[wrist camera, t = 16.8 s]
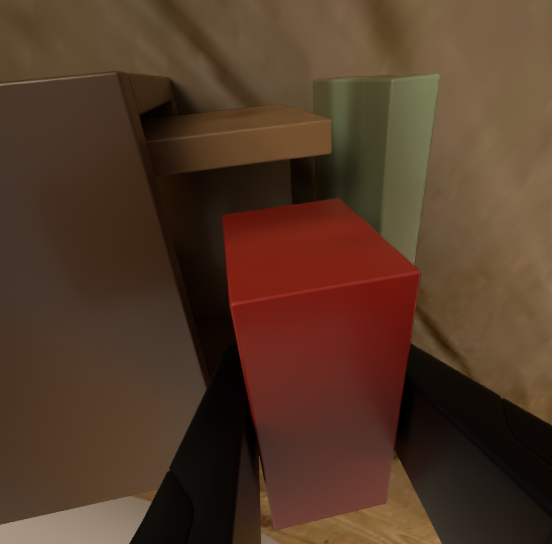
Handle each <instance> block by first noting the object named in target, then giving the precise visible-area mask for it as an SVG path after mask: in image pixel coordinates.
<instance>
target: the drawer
mask: <svg viewBox="0 0 552 544" xmlns="http://www.w3.org/2000/svg"><path fill="white" fill-rule="evenodd" d="M439 82H440V75H439V74H411V75H383V76H356V77H336V78H327V79H317V80H313V110H314V114H312V113H309V112H306V111H302V110H299V109H296V108H293V107H290V106H286V105H283V104H277V105H268V106H259V107H250V108H241V109H232V110H223V111H214V112H205V113H196V114H187V115H179V116H170V117H161V118H152V119H143V120H140V121H141V125H142V129H143V133H144V136H145V140H146V144H147V147H148V151H149V155H150V159H151V162H152V166H153V170H154V173H155V177H156V181H157V185H158V188H159V192H160V196H161V199H162V203H163V207H164V211H165V214H166V218H167V222H168V225H169V229H170V233H171V236H172V240H173V244H174V248H175V251H176V255H177V259H178V262H179V266H180V270H181V274H182V277H183V281H184V285H185V288H186V292H187V296H188V300H189V303H190V307H191V311H192V314H193V318H194V322H195V326H196V329H197V333H198V337H199V340H200V344H201V348H202V351H203V355H204V359H205V363H206V366H207V370H208V374H209V377H210V381H211V379H212V377H213V375H214V373H215V370H216V368H217V366H218V364H219V362H220V360H221V358H222V356H223V354H224V352H225V350H226V348H227V346H228V345H230V344H236V343H237V340H236V335H235V330H234V325H233V320H232V315H231V310H230V303H229V292H228V280H227V269H226V257H225V246H224V234H223V223H222V216H223V215H226V214H233V213H240V212H247V211H253V210H260V209H267V208H274V207H281V206H288V205H293V198H292V183H291V167H290V159H296V158H304V157H311V156H315V179H316V201H322V200H329V199H336V198H340V199H341V200H342V201H343V202H345V203H346V204H347V205H348V206H349V207H350V208H351V209H352V210H353V211H355V212H356V213H357V214H358V215H359V216H360V217H361V218H362V219H363V220H364V221H366V222H367V223H368V224H369V225H370V226H371V227H372V228H373V229H374V230H376V231H377V232H378V233H379V234H380V235H381V236H382V237H383V238H384V239H386V240H387V241H388V242H389V243H390V244H391V245H392V246H393V247H394V248H396V249H397V250H398V251H399V252H400V253H401V254H402V255H403V256H404V257H406V258H407V259H408V260H409V261H410V262H411V263H412V264H413V265H414V264H415V256H416V249H417V242H418V235H419V227H420V220H421V213H422V206H423V198H424V191H425V184H426V177H427V169H428V162H429V155H430V148H431V140H432V133H433V126H434V119H435V111H436V104H437V97H438V90H439Z"/></svg>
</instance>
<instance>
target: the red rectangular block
mask: <svg viewBox="0 0 552 544" xmlns="http://www.w3.org/2000/svg"><path fill="white" fill-rule="evenodd" d="M222 223H223V234H224V246H225V257H226V269H227V280H228V292H229V303H230V310H231V315H232V320H233V325H234V330H235V335H236V340H237V345H238V350H239V355H240V360H241V365H242V370H243V375H244V380H245V385H246V390H247V395H248V400H249V405H250V410H251V415H252V420H253V425H254V430H255V436H256V441H257V446H258V451H259V456H260V461H261V466H262V471H263V476H264V481H265V486H266V491H267V496H268V501H269V506H270V511H271V516H272V521H273V526H274V529H275V530H279V529H283V528H287V527H291V526H295V525H299V524H303V523H308V522H312V521H316V520H320V519H324V518H328V517H332V516H336V515H340V514H344V513H348V512H353V511H357V510H361V509H365V508H369V507H373V506H377V505H381V504H385V503H386V502H387V497H388V490H389V483H390V477H391V470H392V463H393V457H394V450H395V443H396V437H397V430H398V423H399V417H400V410H401V403H402V397H403V390H404V383H405V377H406V370H407V363H408V357H409V350H410V343H411V337H412V330H413V323H414V317H415V310H416V303H417V296H418V290H419V283H420V276H421V272H420V270H419V269H418V268H417V267H416V266H414V265H413V264H412V263H411V262H410V261H409V260H408V259H407V258H406V257H404V256H403V255H402V254H401V253H400V252H399V251H398V250H397V249H396V248H394V247H393V246H392V245H391V244H390V243H389V242H388V241H387V240H386V239H384V238H383V237H382V236H381V235H380V234H379V233H378V232H377V231H376V230H374V229H373V228H372V227H371V226H370V225H369V224H368V223H367V222H366V221H364V220H363V219H362V218H361V217H360V216H359V215H358V214H357V213H356V212H355V211H353V210H352V209H351V208H350V207H349V206H348V205H347V204H346V203H345V202H343V201H342V200H341V199H340V198H336V199H329V200H322V201H315V202H308V203H301V204H295V205H288V206H281V207H274V208H267V209H260V210H253V211H247V212H240V213H233V214H226V215H223V216H222Z"/></svg>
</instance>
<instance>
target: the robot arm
mask: <svg viewBox="0 0 552 544" xmlns="http://www.w3.org/2000/svg"><path fill="white" fill-rule="evenodd" d="M395 451H396V453H397V455H398V457H399V459H400V461H401V463H402V465H403V467H404V469H405V471H406V473H407V475H408V477H409V479H410V481H411V483H412V485H413V487H414V489H415V491H416V493H417V495H418V497H419V499H420V501H421V503H422V505H423V507H424V509H425V511H426V513H427V515H428V517H429V519H430V521H431V523H432V525H433V527H434V529H435V531H436V533H437V535H438V537H439V539H440V541H441V543H442V544H552V425H550V424H549V423H547V422H545V421H543V420H541V419H540V418H538V417H536V416H534V415H533V414H531V413H529V412H527V411H525V410H524V409H522V408H520V407H519V406H517V405H515V404H513V403H512V402H510V401H508V400H507V399H505V398H502V399H501V397H500V396H499V395H498V394H496V393H494V392H493V391H491V390H489V389H488V388H486V387H484V386H483V385H481V384H479V383H477V382H476V381H474V380H472V379H471V378H469V377H467V376H465V375H464V374H462V373H460V372H459V371H457V370H455V369H454V368H452V367H450V366H448V365H447V364H445V363H443V362H442V361H440V360H438V359H436V358H435V357H433V356H431V355H430V354H428V353H426V352H425V351H423V350H421V349H419V348H418V347H416V346H414V345H413V344H411V343H410V350H409V357H408V363H407V370H406V377H405V383H404V390H403V397H402V403H401V410H400V417H399V423H398V430H397V437H396V443H395ZM169 470H170V471H167V473H166V475H165V477H164V479H163V481H162V483H161V485H160V487H159V489H158V491H157V493H156V495H155V497H154V499H153V501H152V503H151V505H150V507H149V509H148V511H147V513H146V515H145V517H144V519H143V521H142V523H141V524H140V526H139V528H138V530H137V531H136V533H135V535H134V537H133V538H132V540H131V542H130V543H129V544H261V523H260V483H259V451H258V446H257V441H256V436H255V430H254V425H253V420H252V415H251V410H250V405H249V400H248V395H247V390H246V385H245V380H244V375H243V370H242V365H241V360H240V355H239V350H238V345H237V343H236V344H230V345H228V346H227V348H226V350H225V352H224V354H223V356H222V358H221V360H220V362H219V364H218V366H217V368H216V370H215V373H214V375H213V377H212V379H211V381H210V383H209V385H208V387H207V389H206V391H205V393H204V396H203V398H202V400H201V402H200V404H199V406H198V408H197V410H196V412H195V414H194V416H193V419H192V421H191V423H190V425H189V427H188V429H187V431H186V433H185V435H184V437H183V439H182V442H181V444H180V446H179V448H178V450H177V452H176V454H175V456H174V458H173V460H172V463H171V465H170V467H169Z"/></svg>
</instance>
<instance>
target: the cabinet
mask: <svg viewBox="0 0 552 544" xmlns="http://www.w3.org/2000/svg"><path fill="white" fill-rule="evenodd" d="M170 116H178V113H177V108H176V104H175V99H174V95H173V90H172V85H171V81H170V78H169V77H161V76H152V75H142V74H133V73H125V72H118V71H112V72H102V73H91V74H81V75H71V76H60V77H50V78H40V79H30V80H19V81H9V82H0V524H5V523H9V522H14V521H19V520H23V519H28V518H32V517H37V516H41V515H46V514H50V513H54V512H59V511H64V510H68V509H73V508H77V507H82V506H86V505H91V504H95V503H99V502H105V501H109V500H114V499H118V498H122V497H127V496H132V495H136V494H141V493H145V492H150V491H154V490H158V489H159V487H160V485H161V483H162V481H163V479H164V477H165V475H166V473H167V471H170V470H169V467H170V465H171V463H172V460H173V458H174V456H175V454H176V452H177V450H178V448H179V446H180V444H181V442H182V439H183V437H184V435H185V433H186V431H187V429H188V427H189V425H190V423H191V421H192V419H193V416H194V414H195V412H196V410H197V408H198V406H199V404H200V402H201V400H202V398H203V396H204V393H205V391H206V389H207V387H208V385H209V383H210V377H209V374H208V370H207V366H206V363H205V359H204V355H203V351H202V348H201V344H200V340H199V337H198V333H197V329H196V326H195V322H194V318H193V314H192V311H191V307H190V303H189V300H188V296H187V292H186V288H185V285H184V281H183V277H182V274H181V270H180V266H179V262H178V259H177V255H176V251H175V248H174V244H173V240H172V236H171V233H170V229H169V225H168V222H167V218H166V214H165V211H164V207H163V203H162V199H161V196H160V192H159V188H158V185H157V181H156V177H155V173H154V170H153V166H152V162H151V159H150V155H149V151H148V147H147V144H146V140H145V136H144V133H143V129H142V125H141V121H140V120H143V119H152V118H161V117H170Z"/></svg>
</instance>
